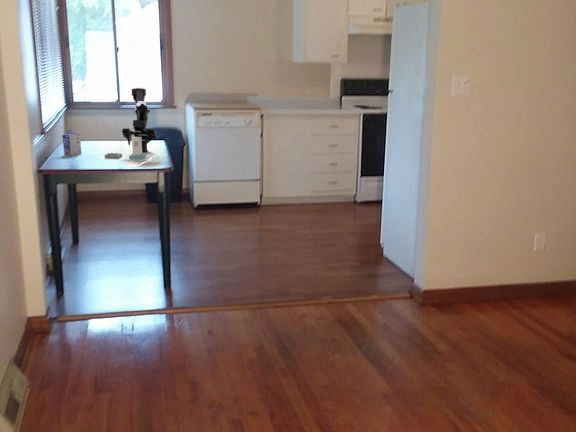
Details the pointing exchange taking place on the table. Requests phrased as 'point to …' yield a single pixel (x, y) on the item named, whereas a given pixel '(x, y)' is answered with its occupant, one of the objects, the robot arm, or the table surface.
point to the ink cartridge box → (71, 143)
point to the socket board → (124, 157)
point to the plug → (137, 146)
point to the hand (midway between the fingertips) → (136, 145)
